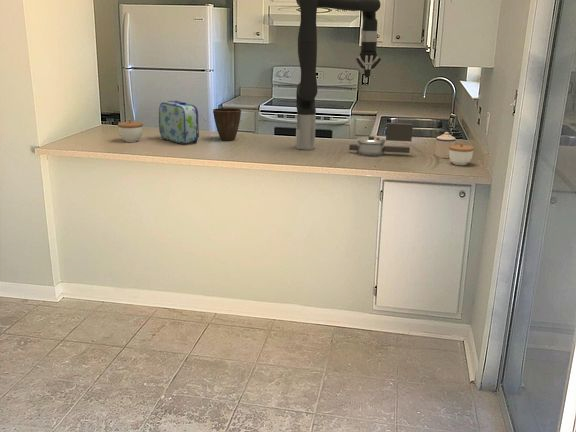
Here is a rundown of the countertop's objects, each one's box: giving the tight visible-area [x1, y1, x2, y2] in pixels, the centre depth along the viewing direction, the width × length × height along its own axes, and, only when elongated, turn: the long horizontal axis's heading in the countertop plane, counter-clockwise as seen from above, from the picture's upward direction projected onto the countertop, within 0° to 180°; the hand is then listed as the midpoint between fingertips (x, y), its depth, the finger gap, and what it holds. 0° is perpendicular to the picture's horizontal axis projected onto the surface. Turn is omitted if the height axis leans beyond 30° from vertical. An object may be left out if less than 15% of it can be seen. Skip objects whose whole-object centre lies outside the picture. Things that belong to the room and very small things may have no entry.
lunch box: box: [158, 100, 200, 145], centre depth 307 cm, size 26×11×21 cm, turn 42°
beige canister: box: [434, 131, 457, 159], centre depth 283 cm, size 12×9×12 cm
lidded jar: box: [448, 142, 474, 166], centre depth 267 cm, size 11×11×9 cm
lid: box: [356, 122, 414, 144], centre depth 283 cm, size 26×14×9 cm, turn 81°
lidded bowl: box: [117, 119, 144, 143], centre depth 307 cm, size 13×13×11 cm
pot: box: [348, 141, 411, 157], centre depth 286 cm, size 28×13×6 cm, turn 96°
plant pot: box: [212, 107, 242, 142], centre depth 314 cm, size 15×15×16 cm
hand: (366, 77), depth 291 cm, fingers closed
